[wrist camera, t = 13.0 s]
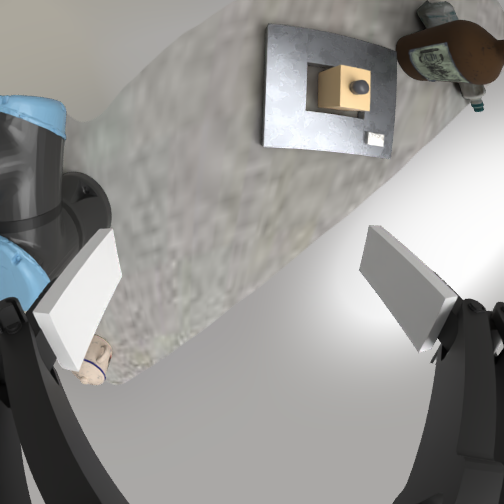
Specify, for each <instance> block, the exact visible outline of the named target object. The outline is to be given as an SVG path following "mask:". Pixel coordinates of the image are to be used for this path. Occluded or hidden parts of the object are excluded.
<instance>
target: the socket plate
mask: <svg viewBox="0 0 504 504" xmlns="http://www.w3.org/2000/svg"><path fill="white" fill-rule="evenodd" d="M307 65H309V66H316V67H322V68H328V69H330V68H333V67H336V66H338V65H345V66H350V67H355V68H360V69H364V70H368V71H370V111H358V118H353V117H348V116H341V115H335V114H327V113H320V112H311V111H305V109H306V87H307ZM396 86H397V52H396V51H394V50H391V49H388V48H385V47H382V46H379V45H375V44H372V43H369V42H365V41H362V40H358V39H355V38H351V37H347V36H343V35H338V34H334V33H329V32H324V31H319V30H314V29H308V28H302V27H295V26H287V25H279V24H268V25H267V27H266V36H265V65H264V93H263V120H262V146H263V147H278V148H296V149H310V150H322V151H332V152H342V153H350V154H359V155H366V156H373V157H380V158H386V159H391V151H392V143H393V133H394V121H395V107H396Z"/></svg>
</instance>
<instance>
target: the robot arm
mask: <svg viewBox="0 0 504 504" xmlns="http://www.w3.org/2000/svg"><path fill="white" fill-rule="evenodd" d="M65 124H66V108H65V106H64V105H63V104H62V103H61V102H60V101H57V100H54V99H50V98H44V97H36V96H24V95H11V96H8V95H7V96H1V95H0V300H1V301H0V504H31V500H30V495H29V491H28V487H27V483H26V477H25V472H24V466H23V459H22V452H21V446H22V449H23V452H24V455H25V457H26V460H27V463H28V465H29V468H30V470H31V473H32V475H33V478H34V480H35V482H36V485H37V487H38V489H39V491H40V493H41V495H42V498H43V500H44V502H45V504H129V503H128V502H127V500H126V499H125V497H124V496H123V495H122V493H121V492H120V491H119V489H118V488H117V486H116V485H115V484H114V482H113V481H112V479H111V478H110V476H109V475H108V473H107V472H106V470H105V469H104V467H103V466H102V464H101V462H100V461H99V459H98V457H97V456H96V454H95V452H94V451H93V449H92V447H91V445H90V443H89V442H88V440H87V438H86V436H85V434H84V432H83V431H82V429H81V426H80V424H79V423H78V420H77V418H76V416H75V414H74V412H73V410H72V408H71V406H70V403H69V401H68V399H67V397H66V394H65V392H64V389H63V387H62V384H61V382H60V379H59V376H58V374H57V371H56V370H55V368H54V366H53V365H54V363H55V361H56V359H57V360H58V362H59V364H60V365H61V367H62V368H63V369H66V370H71V371H77V372H79V370H80V367H81V365H82V362H83V360H84V357H85V355H86V352H87V350H88V347H89V345H90V343H91V340H92V338H93V336H94V333H95V331H96V329H97V327H98V324H99V322H100V320H101V318H102V316H103V314H104V311H105V309H106V307H107V305H108V303H109V301H110V299H111V297H112V295H113V293H114V291H115V289H116V287H117V285H118V283H119V281H120V279H121V277H122V273H121V268H120V264H119V259H118V254H117V249H116V244H115V238H114V233H113V228H110V226H111V208H110V204H109V201H108V198H107V196H106V194H105V192H104V190H103V189H102V188H101V186H100V185H99V184H98V183H97V182H96V181H95V180H94V179H92V178H91V177H89V176H87V175H85V174H82V173H78V172H69V173H65V174H63V175H62V169H63V153H64V141H65V140H66V135H65ZM359 271H360V272H361V273H362V275H363V276H364V277H365V278H366V280H367V281H368V282H369V284H370V285H371V286H372V288H373V289H374V290H375V291H376V293H377V294H378V295H379V297H380V298H381V299H382V301H383V302H384V304H385V305H386V306H387V308H388V309H389V311H390V312H391V313H392V315H393V316H394V317H395V319H396V320H397V322H398V323H399V325H400V326H401V327H402V329H403V330H404V332H405V333H406V335H407V336H408V337H409V339H410V340H411V342H412V343H413V345H414V346H415V348H416V349H417V351H418V352H422V351H426V350H430V349H432V347H433V345H434V343H435V342H436V340H437V338H438V339H439V341H440V342H441V345H440V346H439V348H438V350H437V352H436V353H435V355H434V356H433V358H432V360H431V363H433V362H434V360H435V359H437V362H436V369H435V376H434V383H433V389H432V394H431V400H430V405H429V410H428V414H427V419H426V423H425V427H424V431H423V435H422V438H421V442H420V445H419V449H418V452H417V456H416V459H415V462H414V465H413V468H412V471H411V473H410V476H409V479H408V482H407V484H406V486H405V488H404V489H403V491H402V492H401V493H400V494H399V495H398V497H397V498H396V499H395V501H394V502H393V504H504V348H503V350H502V351H501V352H500V354H499V355H498V356H497V354H496V351H497V349H498V348H499V346H500V345H501V343H502V342H503V344H504V303H503V302H498V303H496V305H495V307H494V309H493V311H486V309H485V308H484V306H483V305H482V304H480V303H479V302H478V301H475V300H473V299H465V300H462V298H461V297H460V296H459V295H458V294H457V293H456V292H455V291H454V290H453V289H452V288H451V287H450V286H449V285H447V284H446V282H445V281H443V280H441V278H440V277H439V276H438V275H437V274H436V273H435V272H434V271H432V270H431V269H430V268H429V267H427V265H425V264H424V263H423V262H422V261H421V260H420V259H419V258H418V257H417V256H415V255H414V254H413V253H412V252H411V251H410V250H409V249H408V248H406V247H405V246H404V245H403V244H402V243H401V242H400V241H398V240H397V239H396V238H395V237H394V236H392V235H391V234H390V233H389V232H388V231H386V230H385V229H384V228H383V227H382V226H374V225H369V228H368V233H367V238H366V243H365V247H364V252H363V256H362V260H361V264H360V269H359ZM24 311H27V312H26V314H25V313H24Z"/></svg>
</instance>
